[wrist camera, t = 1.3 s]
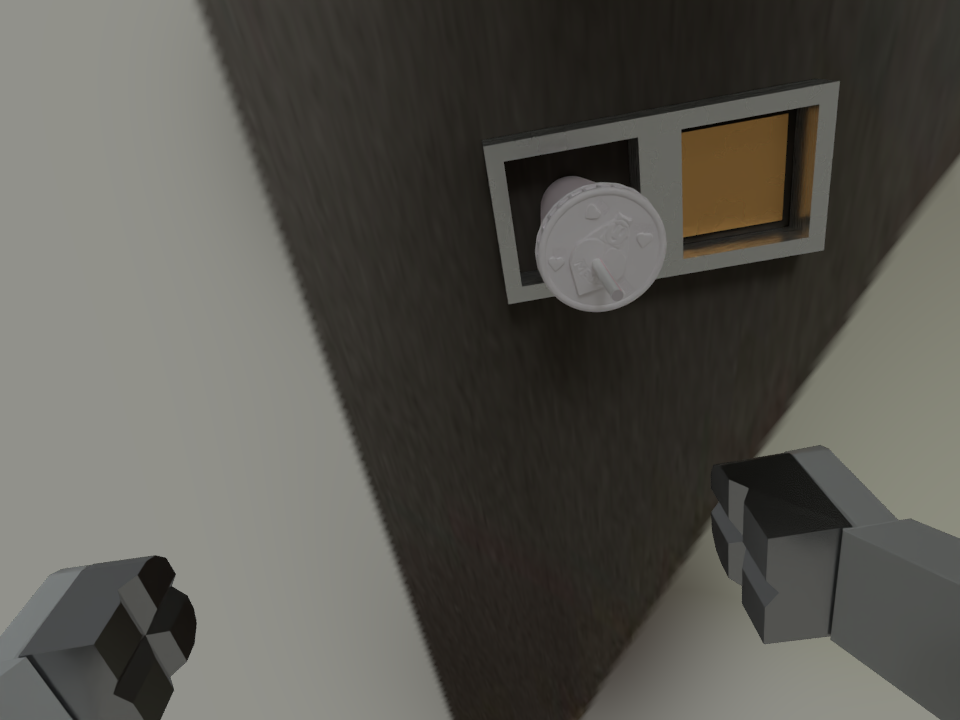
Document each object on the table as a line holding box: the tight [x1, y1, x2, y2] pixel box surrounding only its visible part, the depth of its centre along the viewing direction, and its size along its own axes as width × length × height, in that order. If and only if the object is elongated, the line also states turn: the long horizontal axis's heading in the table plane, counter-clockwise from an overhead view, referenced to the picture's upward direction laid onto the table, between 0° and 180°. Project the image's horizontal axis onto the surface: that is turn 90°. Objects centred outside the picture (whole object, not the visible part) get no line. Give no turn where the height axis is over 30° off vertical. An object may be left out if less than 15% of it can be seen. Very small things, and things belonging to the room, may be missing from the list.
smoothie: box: [535, 176, 667, 312], centre depth 32 cm, size 6×6×14 cm
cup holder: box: [482, 79, 840, 304], centre depth 37 cm, size 10×20×2 cm, turn 100°
